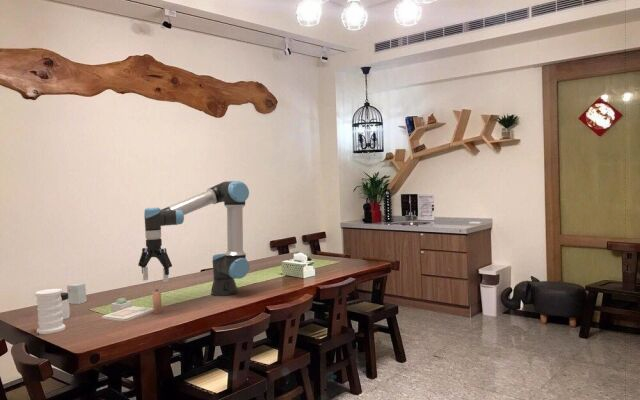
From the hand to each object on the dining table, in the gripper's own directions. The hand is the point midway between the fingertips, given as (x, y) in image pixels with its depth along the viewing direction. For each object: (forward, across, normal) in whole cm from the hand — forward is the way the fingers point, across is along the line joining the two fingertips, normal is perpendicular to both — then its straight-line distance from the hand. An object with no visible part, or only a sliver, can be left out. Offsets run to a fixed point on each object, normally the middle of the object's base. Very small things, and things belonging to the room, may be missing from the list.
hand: (155, 280), depth 253 cm
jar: (+17, +42, +23) cm, 51 cm away
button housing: (+16, +25, 0) cm, 30 cm away
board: (+16, +12, +7) cm, 21 cm away
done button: (+15, +25, 0) cm, 29 cm away
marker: (+16, 0, 0) cm, 16 cm away
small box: (+17, +63, -3) cm, 65 cm away
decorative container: (+17, +27, +39) cm, 50 cm away
